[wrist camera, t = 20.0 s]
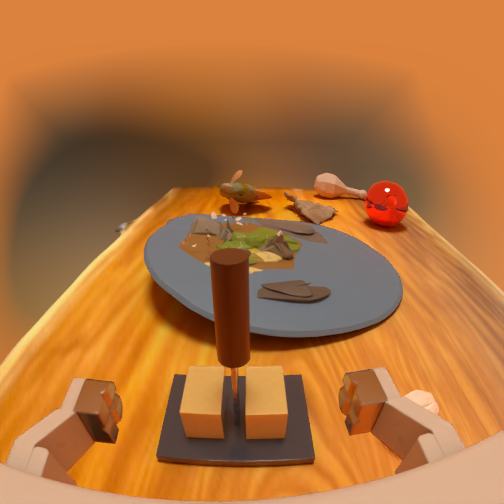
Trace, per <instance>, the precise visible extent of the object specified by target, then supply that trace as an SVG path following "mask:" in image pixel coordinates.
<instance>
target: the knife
mask: <svg viewBox="0 0 504 504" xmlns="http://www.w3.org/2000/svg"><path fill="white" fill-rule="evenodd" d="M210 272H211V286H212V299H213V311H214V323H215V334H216V345H217V355H218V361H219V362H220V363H221V364H222V365H223V366H225V367H229V368H231V378H232V392H233V405H234V418H235V425H239V417H240V399H239V380H238V367H242V366H244V365H246V364H247V363H248V361H249V360H250V301H249V254H248V253H247V252H246V251H244V250H242V249H238V248H224V249H219V250H216V251H214V252H213V253H211V255H210Z"/></svg>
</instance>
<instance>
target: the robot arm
mask: <svg viewBox="0 0 504 504" xmlns="http://www.w3.org/2000/svg"><path fill="white" fill-rule="evenodd" d="M342 381H343V383H344V386H343V387H342V388H341V389H340V392H339V406H340V409H341V412H342V413H343V414H344V415H346V416H347V417H346V420H345V424H346V426H347V429H348V432H349V435H356V434H361V433H367V432H371V433H372V434H373V435H374V436H376V437H377V438H378V439H379V440H380V441H381V442H383V443H384V444H385V445H386V446H387V447H389V448H390V449H391V450H392V451H394V452H395V453H396V454H397V455H398V456H400V457H401V458H402V459H403V461H402V462H401V463H400V465H399V466H398V468H397V469H396V471H395V475H391V476H388V477H385V478H381V479H377V480H374V481H370V482H366V483H362V484H358V485H353V486H349V487H344V488H339V489H334V490H329V491H324V492H318V493H312V494H305V495H298V496H291V497H282V498H272V499H260V500H244V501H182V500H166V499H154V498H144V497H136V496H128V495H121V494H115V493H109V492H103V491H98V490H93V489H88V488H84V487H79V486H76V484H77V483H76V482H75V480H74V479H73V478H72V477H71V476H70V475H69V474H68V473H67V471H68V470H69V469H70V468H71V467H72V466H73V465H74V464H75V463H76V462H77V461H78V460H79V459H80V458H81V457H82V456H83V455H84V454H85V452H86V451H87V450H88V449H89V448H90V447H91V446H92V445H93V444H94V443H95V442H103V443H112V444H115V443H116V439H117V435H118V431H119V429H118V427H117V425H116V424H117V423H118V422H119V421H121V418H122V401H121V399H120V396H118V395H117V394H116V393H115V391H116V387H115V384H114V382H111V381H102V380H94V379H84V378H77V377H75V378H74V379H73V380H72V382H71V385H70V387H69V389H68V392H67V394H66V396H65V399H64V401H63V403H62V406H61V408H60V409H56V410H55V411H53V412H52V413H51V414H49V415H48V416H46V417H45V418H44V419H42V420H41V421H40V422H38V423H37V424H35V425H34V426H33V427H31V428H30V429H29V430H27V431H26V432H25V433H23V434H22V435H20V436H19V437H18V438H16V439H15V442H14V444H13V447H12V449H11V452H10V454H9V456H8V459H7V462H6V464H3V463H1V462H0V504H504V429H503V430H501V431H499V432H497V433H496V434H494V435H492V436H490V437H488V438H486V439H484V440H482V441H480V442H477V443H475V444H473V445H471V446H469V447H467V448H465V446H464V444H463V442H462V441H461V439H460V437H459V435H458V433H457V432H456V430H455V428H454V426H453V425H452V424H451V423H450V422H448V421H446V420H444V419H442V418H441V417H439V416H437V415H436V414H434V413H432V412H430V411H429V410H427V409H425V408H423V407H422V406H420V405H418V404H417V403H415V402H413V401H412V400H410V399H408V398H406V397H401V395H400V393H399V391H398V389H397V388H396V386H395V384H394V382H393V380H392V379H391V377H390V375H389V373H388V371H387V370H386V368H384V367H380V368H375V369H368V370H362V371H356V372H350V373H345V375H344V377H343V380H342ZM94 441H95V442H94Z"/></svg>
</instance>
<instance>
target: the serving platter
mask: <svg viewBox="0 0 504 504" xmlns="http://www.w3.org/2000/svg"><path fill="white" fill-rule="evenodd" d="M229 207H230V206H229ZM246 214H247V213H243V215H244V216H245V215H246ZM222 215H223V216H221V215H216V214H215V212H212V214H211V215H206V214H187V215H185V216H181V217H177V218H174V219H171V220H169V221H168V222H167V223H166V225H165V226H163V227H161V228H160V229H158V230H157V231H155V232H154V233H153V234H152V235H151V236H150V237H149V239H148V240H147V242H146V245H145V248H144V261H145V264H146V266H147V269H148V270H149V272H150V274H151V276H152V277H153V279H154V280H155V281H156V283H157V284H158V285H159V286H160V287H162V288H163V289H164V290H165V291H167V292H168V293H169V294H170V295H172V296H173V297H174V298H175V299H177V300H178V301H179V302H181V303H182V304H183V305H185V306H186V307H187V308H189V309H190V310H192V311H194V312H196V313H198V314H199V315H201V316H203V317H205V318H207V319H209V320H212V321H214V311H213V299H212V286H211V272H210V255H211V253H213V252H214V251H216V250H219V249H224V248H238V249H242V250H244V251H246V252H247V253H248V254H249V301H250V332H251V333H256V334H262V335H268V336H278V337H318V336H326V335H334V334H340V333H346V332H351V331H355V330H358V329H362V328H365V327H368V326H370V325H373V324H376V323H378V322H380V321H382V320H383V319H385V318H386V317H388V316H389V315H390V314H391V313H392V312H393V311H394V310H395V309H396V308H397V306H398V305H399V303H400V301H401V298H402V294H403V289H402V281H401V279H400V276H399V274H398V273H397V271H396V270H395V269H394V267H393V266H392V265H391V264H390V262H389V261H388V260H387V259H386V258H385V257H384V256H382V255H381V254H380V253H378V252H377V251H376V250H374V249H373V248H371V247H370V246H368V245H367V244H365V243H363V242H362V241H360V240H358V239H356V238H355V237H353V236H350V235H348V234H346V233H343V232H340V231H338V230H335V229H332V228H329V227H325V226H321V225H316V224H311V223H306V222H298V221H287V220H275V219H262V218H249V217H235V216H225V214H222Z"/></svg>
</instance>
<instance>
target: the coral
mask: <svg viewBox="0 0 504 504" xmlns="http://www.w3.org/2000/svg"><path fill="white" fill-rule="evenodd" d="M284 195H285V197H286V198H287V200H289V201H292V202H294V207H295V208H296V210H297V211H298V213H299V214H300V215H304V216H305V217H307V218H308V219H310V220H311V221H312V222H314V223H315V224H317V225H320V223H322V222H324V221H326V220H328V219H329V218H331V217H332V216H333V214H334V212H338V211H336V210H335V209H334V208H332V207H331V206H324V205H321V204H319V203H313V202H310V201H304V200H298V199H297V197H295V196H293V195H289V194H288V193H286V192H285V193H284Z"/></svg>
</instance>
